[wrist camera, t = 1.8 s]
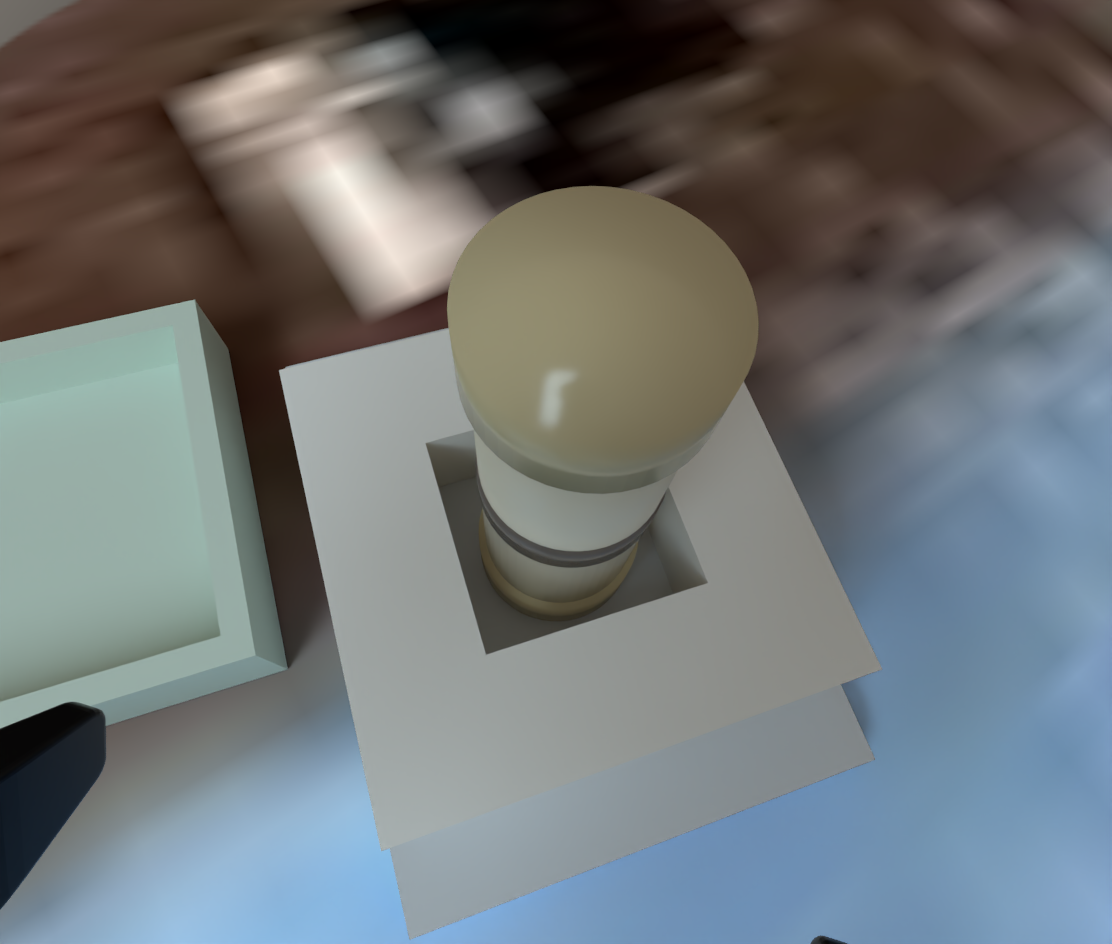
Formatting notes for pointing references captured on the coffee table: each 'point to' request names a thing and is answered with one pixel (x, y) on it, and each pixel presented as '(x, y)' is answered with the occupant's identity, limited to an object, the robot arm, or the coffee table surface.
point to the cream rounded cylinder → (589, 380)
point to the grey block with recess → (561, 646)
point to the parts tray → (128, 520)
